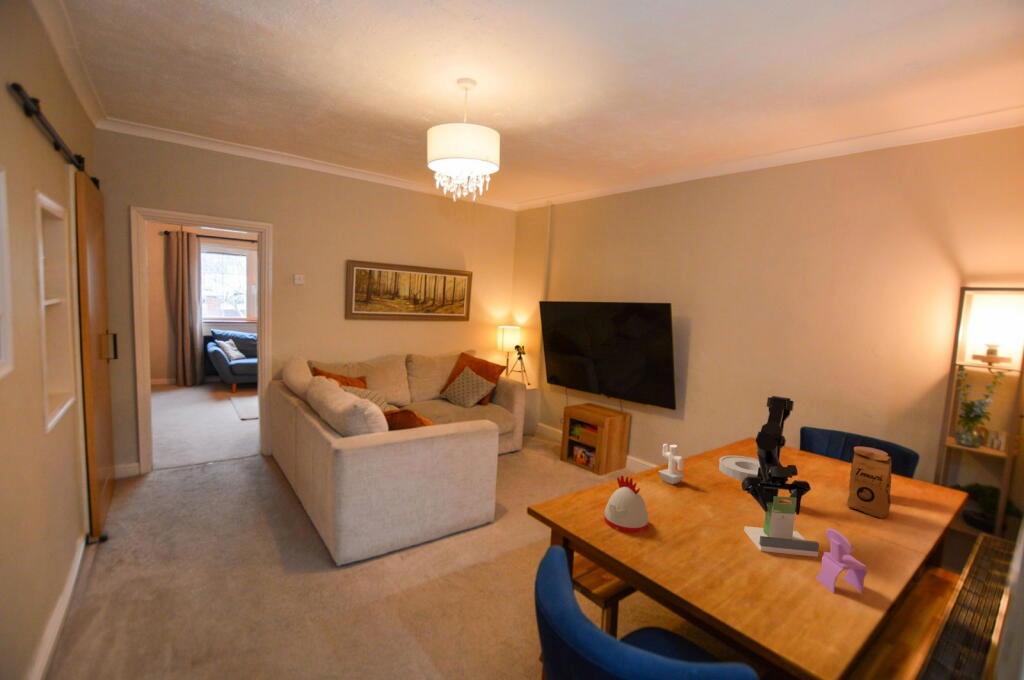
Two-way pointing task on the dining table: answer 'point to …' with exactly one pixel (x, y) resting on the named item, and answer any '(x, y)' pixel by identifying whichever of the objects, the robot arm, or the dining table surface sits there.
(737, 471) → the ashtray
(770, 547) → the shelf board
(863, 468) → the coffee package
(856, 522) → the dining table surface
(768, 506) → the ink box
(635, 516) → the kitchen timer
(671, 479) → the figurine
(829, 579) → the toy chair
